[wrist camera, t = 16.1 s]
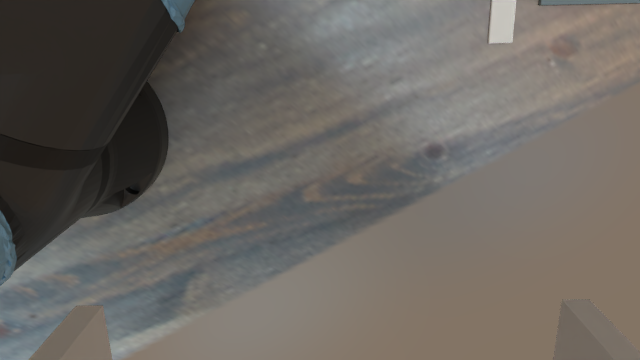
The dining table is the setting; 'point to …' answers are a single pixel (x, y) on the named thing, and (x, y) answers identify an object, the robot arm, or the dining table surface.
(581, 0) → the mat
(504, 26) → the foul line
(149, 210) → the dining table surface
